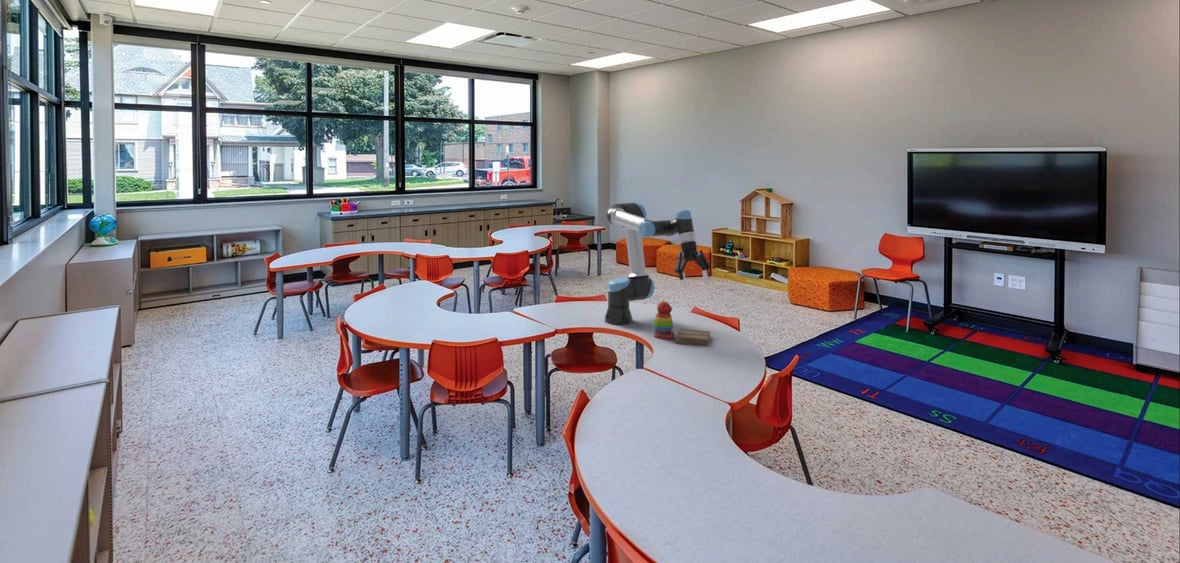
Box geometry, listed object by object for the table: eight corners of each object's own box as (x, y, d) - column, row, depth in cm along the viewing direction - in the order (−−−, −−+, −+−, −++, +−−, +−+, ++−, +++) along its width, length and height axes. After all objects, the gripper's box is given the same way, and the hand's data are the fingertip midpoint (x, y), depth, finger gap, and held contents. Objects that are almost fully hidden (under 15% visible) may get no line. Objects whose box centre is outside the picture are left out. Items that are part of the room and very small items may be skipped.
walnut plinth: (680, 334, 310) (680, 329, 309) (710, 337, 305) (710, 331, 305) (675, 343, 296) (675, 337, 295) (706, 345, 291) (707, 339, 291)
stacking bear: (673, 340, 301) (674, 305, 297) (652, 338, 303) (653, 304, 299) (674, 333, 311) (675, 300, 308) (654, 332, 313) (655, 299, 310)
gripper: (671, 242, 288) (679, 286, 286) (712, 238, 300) (720, 281, 298) (662, 245, 294) (670, 288, 292) (703, 241, 306) (710, 283, 304)
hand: (695, 285), depth 295 cm, fingers open, 13 cm apart
